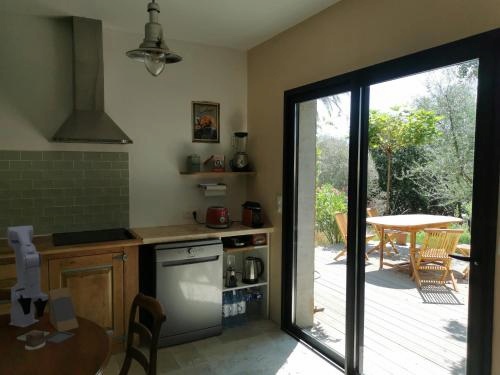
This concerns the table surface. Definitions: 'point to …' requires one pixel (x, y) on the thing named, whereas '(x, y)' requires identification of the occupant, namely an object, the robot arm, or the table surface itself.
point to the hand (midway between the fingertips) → (33, 315)
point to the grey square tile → (59, 337)
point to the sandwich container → (62, 310)
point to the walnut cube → (35, 338)
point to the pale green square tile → (29, 332)
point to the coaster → (34, 347)
